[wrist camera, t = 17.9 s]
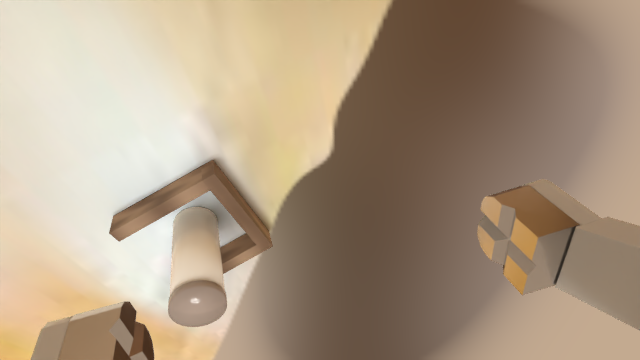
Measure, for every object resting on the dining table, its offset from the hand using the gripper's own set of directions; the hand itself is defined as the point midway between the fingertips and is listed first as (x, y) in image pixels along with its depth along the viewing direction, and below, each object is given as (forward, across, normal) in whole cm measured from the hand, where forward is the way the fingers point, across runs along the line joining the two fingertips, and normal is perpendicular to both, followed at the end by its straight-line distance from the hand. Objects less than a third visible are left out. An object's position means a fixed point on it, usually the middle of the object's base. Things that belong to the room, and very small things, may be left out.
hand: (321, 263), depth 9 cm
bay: (+34, +9, +24) cm, 43 cm away
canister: (+34, +9, +24) cm, 43 cm away
